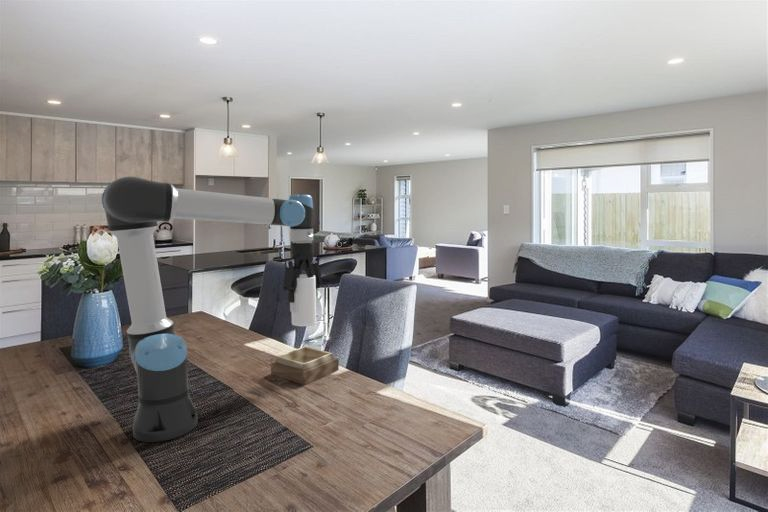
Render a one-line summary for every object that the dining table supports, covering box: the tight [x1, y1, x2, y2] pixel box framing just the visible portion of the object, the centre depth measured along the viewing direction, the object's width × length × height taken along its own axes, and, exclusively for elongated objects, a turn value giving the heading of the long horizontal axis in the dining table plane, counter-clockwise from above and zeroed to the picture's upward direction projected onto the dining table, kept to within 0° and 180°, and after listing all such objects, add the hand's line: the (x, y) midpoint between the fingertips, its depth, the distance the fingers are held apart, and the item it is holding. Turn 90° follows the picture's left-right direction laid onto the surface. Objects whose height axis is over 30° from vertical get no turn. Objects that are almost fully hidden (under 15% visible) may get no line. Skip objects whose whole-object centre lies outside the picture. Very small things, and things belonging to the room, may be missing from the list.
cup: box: [290, 273, 317, 327], centre depth 150 cm, size 8×8×16 cm
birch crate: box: [275, 345, 334, 371], centre depth 152 cm, size 13×13×6 cm
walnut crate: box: [270, 356, 340, 386], centre depth 152 cm, size 16×16×5 cm
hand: (303, 309), depth 150 cm, fingers closed on cup, 8 cm apart
